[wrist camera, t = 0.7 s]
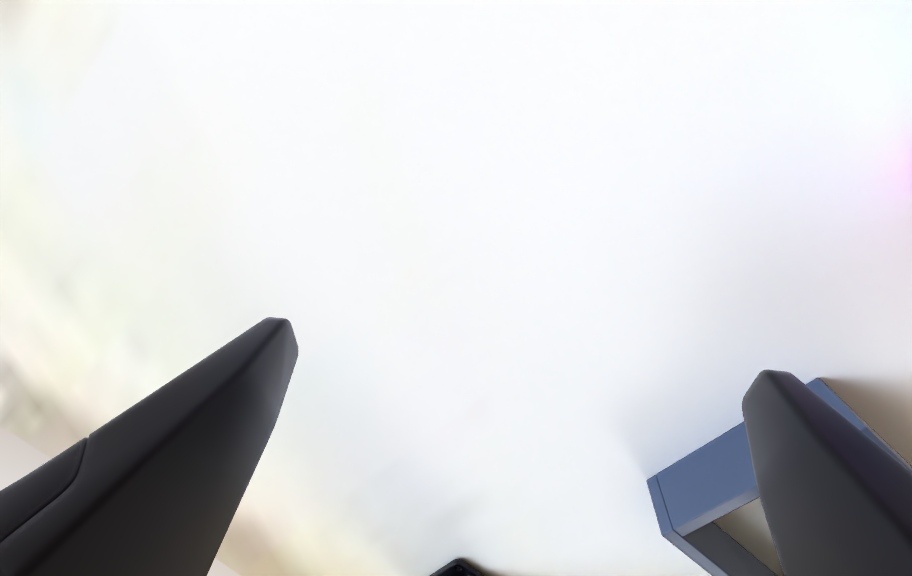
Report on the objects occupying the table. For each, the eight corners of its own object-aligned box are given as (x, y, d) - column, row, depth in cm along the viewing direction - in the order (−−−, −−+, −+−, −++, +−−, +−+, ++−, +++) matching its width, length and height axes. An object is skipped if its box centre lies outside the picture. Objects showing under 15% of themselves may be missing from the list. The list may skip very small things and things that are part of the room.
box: (790, 599, 32) (823, 666, 28) (645, 480, 29) (661, 535, 26) (973, 525, 27) (1041, 594, 23) (817, 376, 25) (866, 426, 21)
